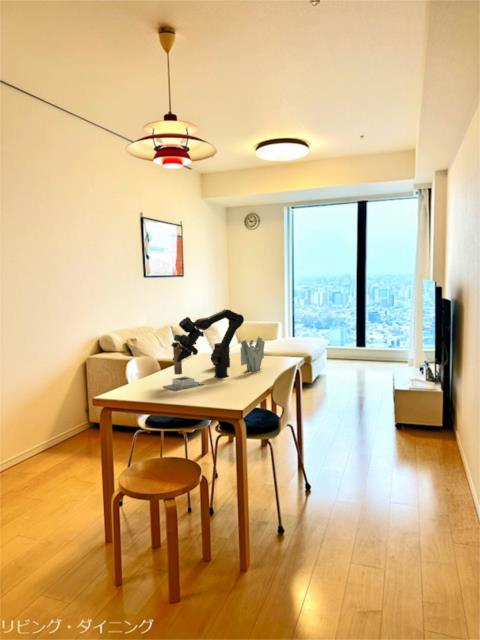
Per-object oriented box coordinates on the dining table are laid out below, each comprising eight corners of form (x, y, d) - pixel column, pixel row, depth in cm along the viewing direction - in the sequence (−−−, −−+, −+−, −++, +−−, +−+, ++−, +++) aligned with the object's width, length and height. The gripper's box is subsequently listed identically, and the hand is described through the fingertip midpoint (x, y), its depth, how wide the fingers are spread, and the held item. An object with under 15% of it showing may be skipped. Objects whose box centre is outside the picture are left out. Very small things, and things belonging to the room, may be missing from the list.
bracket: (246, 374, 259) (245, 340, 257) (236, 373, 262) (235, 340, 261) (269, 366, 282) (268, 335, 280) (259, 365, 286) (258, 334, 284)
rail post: (179, 372, 240) (178, 347, 239) (183, 373, 237) (182, 347, 236) (173, 373, 237) (171, 347, 236) (177, 374, 234) (175, 348, 233)
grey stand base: (191, 381, 246) (190, 374, 246) (203, 384, 237) (203, 377, 236) (163, 387, 234) (162, 379, 234) (175, 391, 225) (174, 383, 225)
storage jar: (212, 368, 282) (211, 344, 281) (217, 365, 292) (217, 342, 290) (227, 368, 280) (226, 345, 278) (232, 365, 289) (231, 342, 288)
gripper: (173, 327, 245) (156, 350, 239) (192, 329, 230) (174, 353, 224) (186, 340, 250) (170, 362, 244) (205, 343, 236) (188, 366, 230)
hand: (175, 361), depth 236 cm, fingers closed on rail post, 4 cm apart
